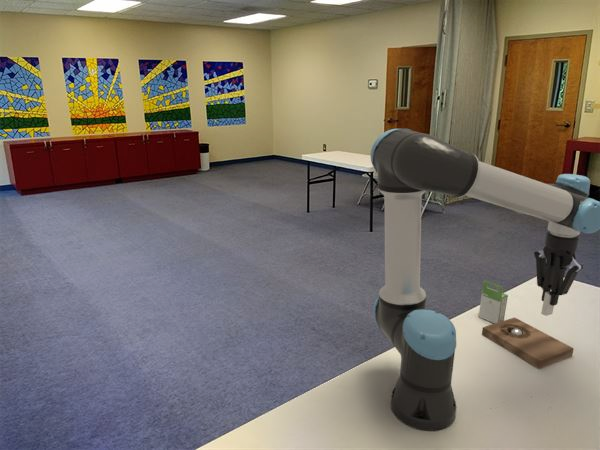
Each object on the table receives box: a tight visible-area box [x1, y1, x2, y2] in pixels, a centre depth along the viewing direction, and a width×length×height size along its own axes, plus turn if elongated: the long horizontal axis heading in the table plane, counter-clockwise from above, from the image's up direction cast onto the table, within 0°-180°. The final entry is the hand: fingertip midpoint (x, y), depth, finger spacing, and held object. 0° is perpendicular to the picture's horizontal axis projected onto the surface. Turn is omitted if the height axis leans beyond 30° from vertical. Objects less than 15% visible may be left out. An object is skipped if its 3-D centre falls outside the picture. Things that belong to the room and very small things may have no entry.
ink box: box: [478, 280, 509, 324], centre depth 150 cm, size 7×4×13 cm, turn 37°
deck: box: [481, 317, 574, 370], centre depth 137 cm, size 20×14×2 cm
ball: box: [510, 328, 522, 335], centre depth 140 cm, size 3×3×3 cm
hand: (546, 313), depth 129 cm, fingers closed
